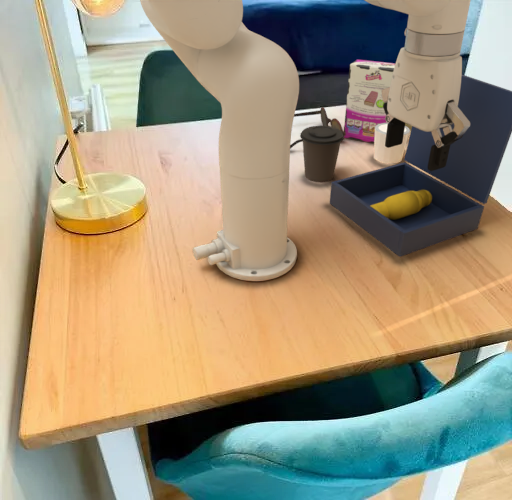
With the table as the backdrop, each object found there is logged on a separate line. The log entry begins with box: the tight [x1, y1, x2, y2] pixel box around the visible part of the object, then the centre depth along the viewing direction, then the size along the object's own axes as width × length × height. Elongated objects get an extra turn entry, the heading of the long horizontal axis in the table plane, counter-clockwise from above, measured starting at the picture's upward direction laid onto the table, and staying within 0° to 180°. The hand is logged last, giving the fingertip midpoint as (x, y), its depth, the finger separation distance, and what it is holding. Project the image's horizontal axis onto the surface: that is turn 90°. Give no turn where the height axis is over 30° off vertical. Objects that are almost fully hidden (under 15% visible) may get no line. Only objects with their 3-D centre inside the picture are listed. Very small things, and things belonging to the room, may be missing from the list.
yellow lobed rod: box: [371, 190, 432, 220], centre depth 85 cm, size 14×4×4 cm, turn 118°
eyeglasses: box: [290, 106, 346, 150], centre depth 114 cm, size 15×15×5 cm
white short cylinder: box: [373, 123, 411, 165], centre depth 103 cm, size 7×7×7 cm
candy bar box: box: [343, 59, 396, 144], centre depth 110 cm, size 11×5×16 cm, turn 62°
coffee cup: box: [299, 125, 345, 183], centre depth 96 cm, size 8×8×10 cm
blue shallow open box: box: [329, 161, 485, 258], centre depth 85 cm, size 16×18×5 cm
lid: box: [403, 74, 512, 205], centre depth 82 cm, size 17×18×5 cm
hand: (413, 156), depth 80 cm, fingers open, 9 cm apart
